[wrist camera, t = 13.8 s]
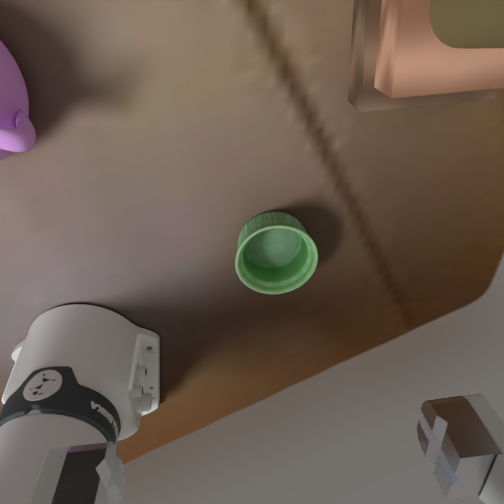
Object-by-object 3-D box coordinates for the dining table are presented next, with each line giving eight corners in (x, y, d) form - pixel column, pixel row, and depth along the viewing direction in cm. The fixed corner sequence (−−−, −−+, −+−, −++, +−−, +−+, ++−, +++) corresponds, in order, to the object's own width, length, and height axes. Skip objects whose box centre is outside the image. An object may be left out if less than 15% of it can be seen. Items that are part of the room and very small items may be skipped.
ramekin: (250, 281, 51) (253, 305, 47) (220, 223, 46) (221, 244, 42) (319, 256, 49) (328, 278, 46) (296, 193, 44) (303, 213, 41)
